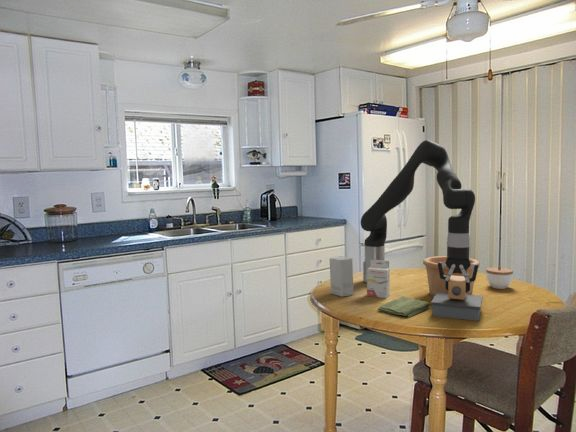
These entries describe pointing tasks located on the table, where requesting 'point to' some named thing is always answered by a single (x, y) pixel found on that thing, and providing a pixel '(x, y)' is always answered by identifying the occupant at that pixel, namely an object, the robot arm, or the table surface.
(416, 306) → the washcloth
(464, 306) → the stand
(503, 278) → the lidded jar
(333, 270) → the skincare box
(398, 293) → the table surface
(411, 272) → the table surface
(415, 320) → the table surface
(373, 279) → the ink cartridge box
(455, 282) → the block
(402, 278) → the table surface
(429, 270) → the pottery
